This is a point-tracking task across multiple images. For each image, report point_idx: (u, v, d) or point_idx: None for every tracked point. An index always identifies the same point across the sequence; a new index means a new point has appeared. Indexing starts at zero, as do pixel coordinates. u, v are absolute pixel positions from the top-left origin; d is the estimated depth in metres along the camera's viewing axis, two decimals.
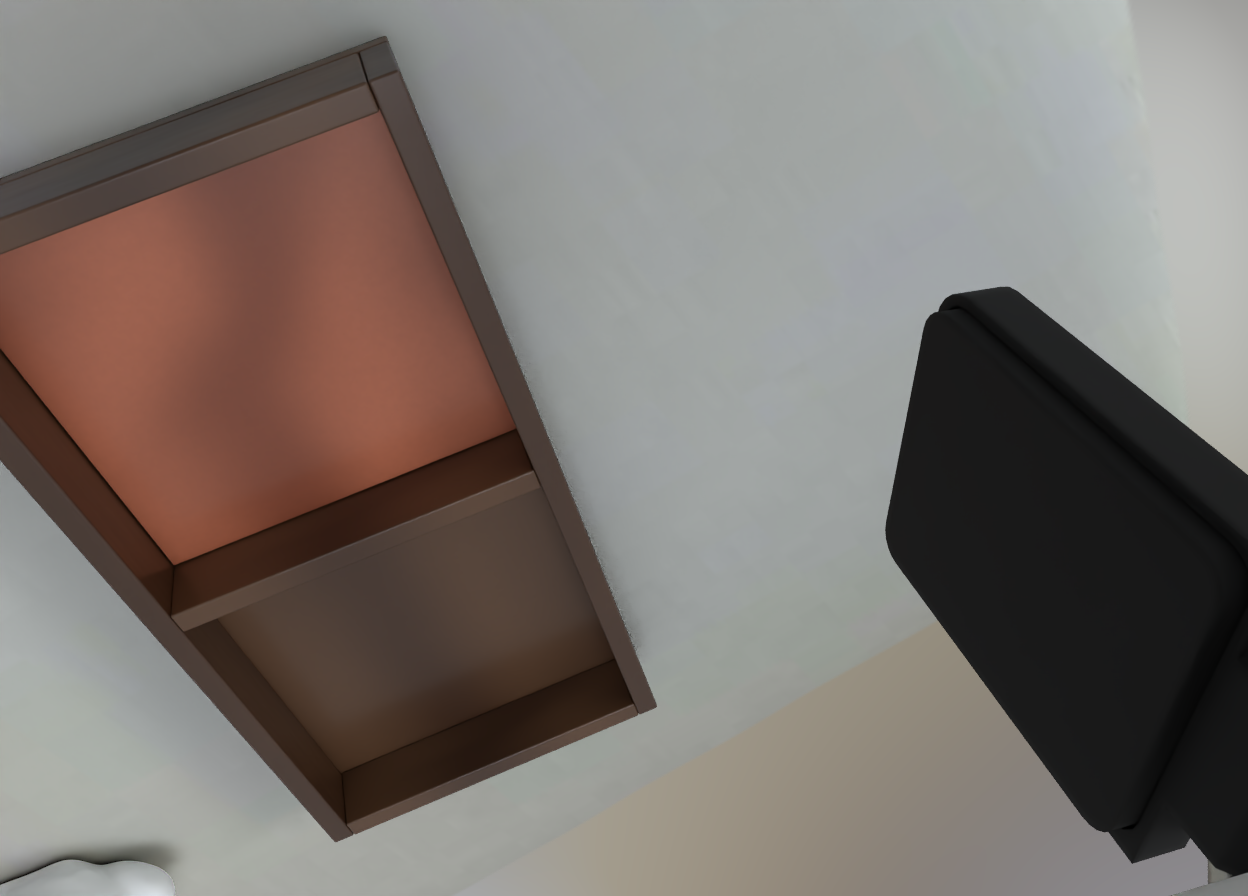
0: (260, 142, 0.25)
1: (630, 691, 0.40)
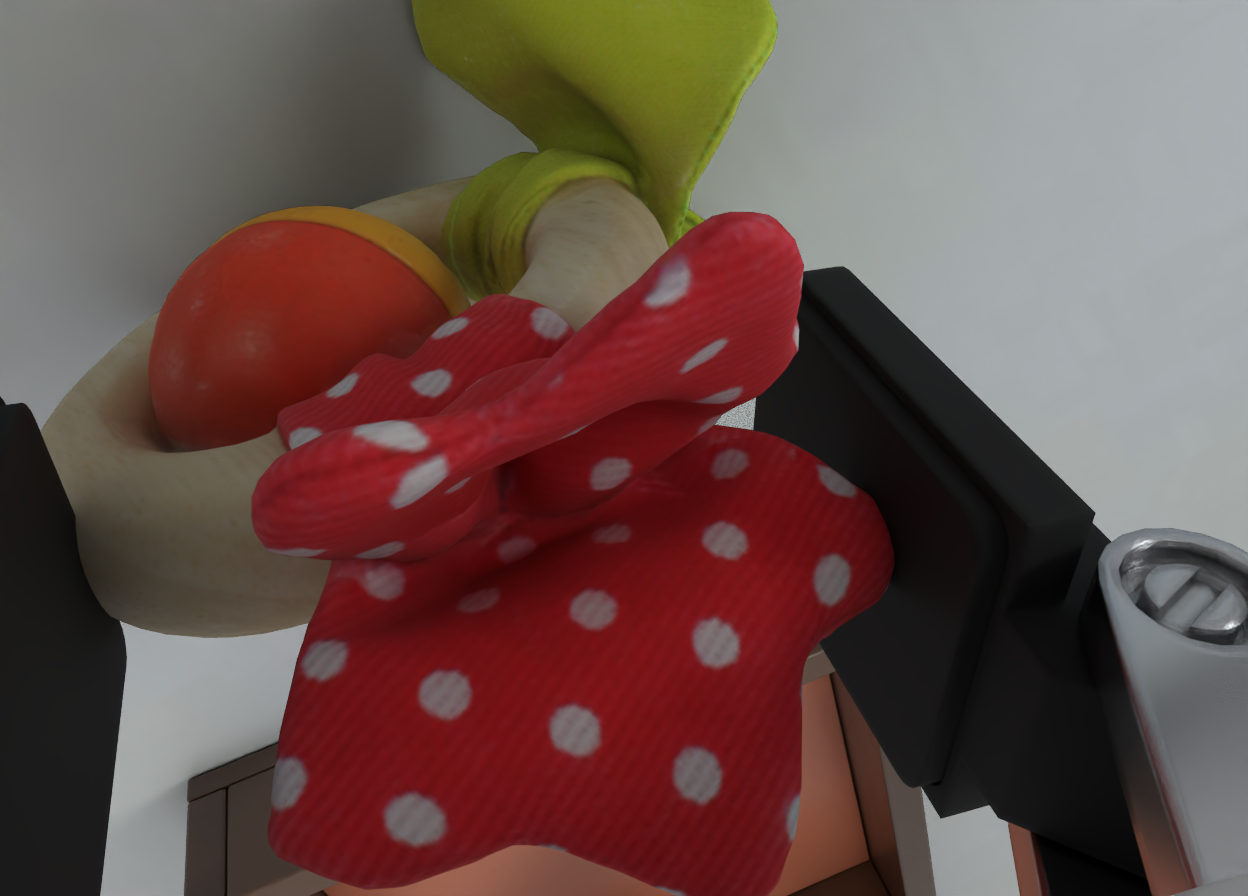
0: None
1: None
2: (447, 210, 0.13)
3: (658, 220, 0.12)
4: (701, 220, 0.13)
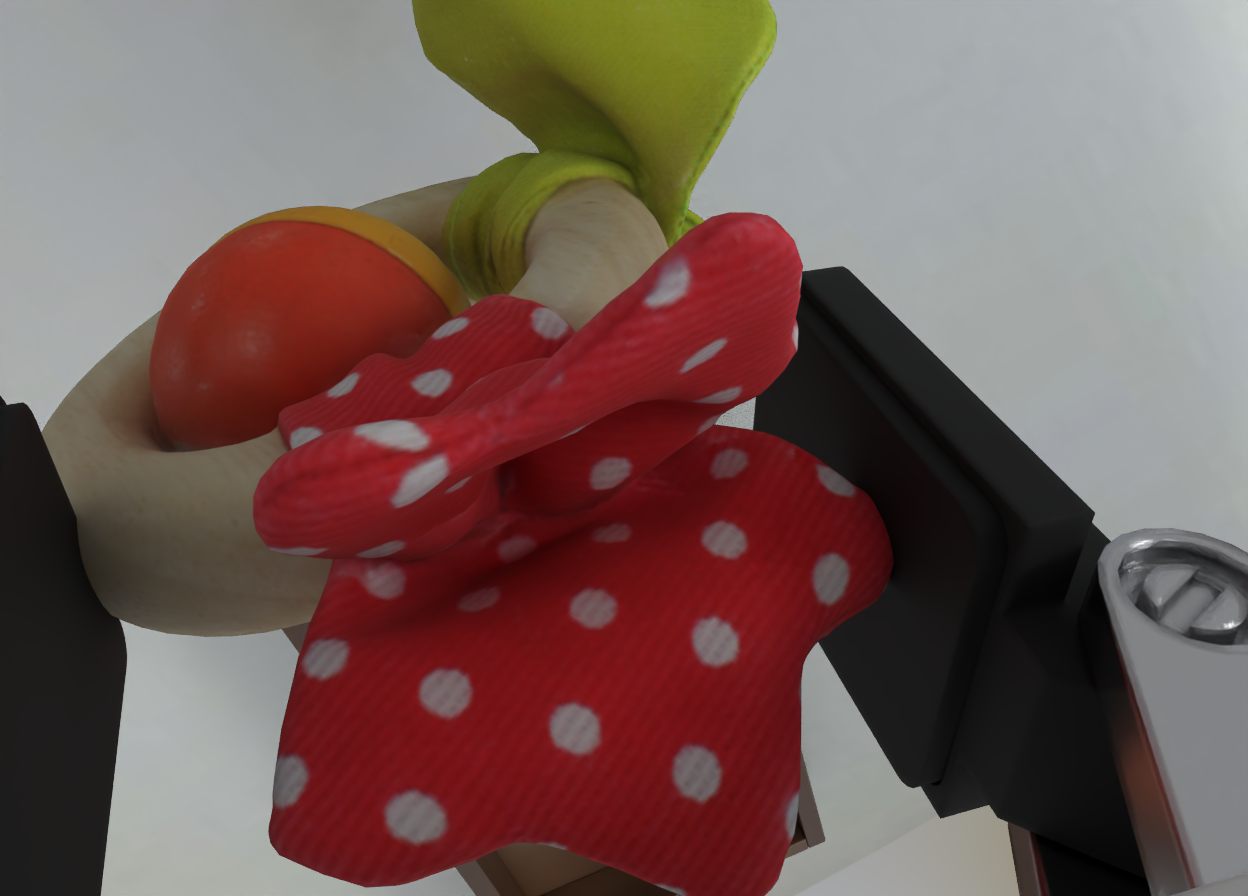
0: None
1: (804, 829, 0.43)
2: (447, 210, 0.13)
3: (658, 220, 0.12)
4: (701, 220, 0.13)
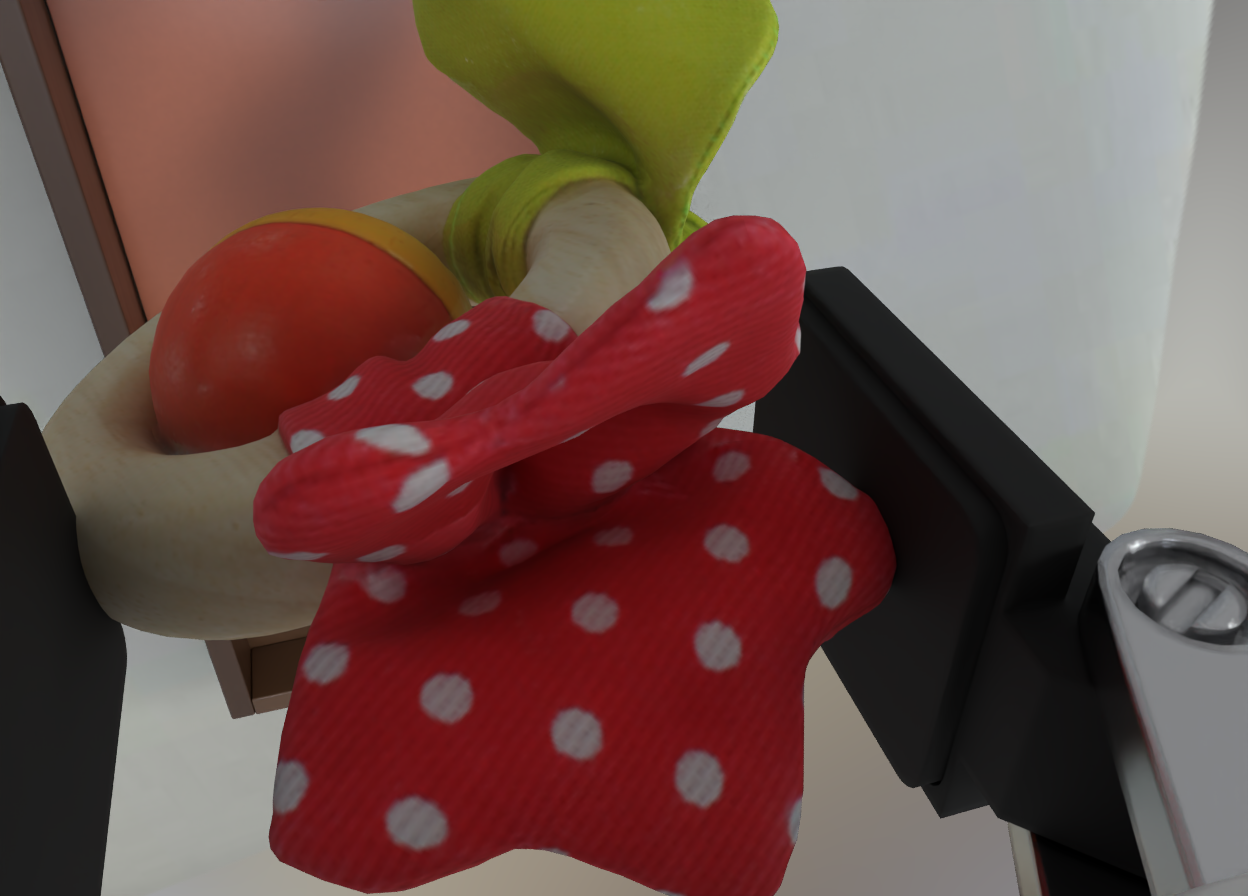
0: None
1: None
2: (448, 213, 0.13)
3: (659, 222, 0.12)
4: (702, 222, 0.13)
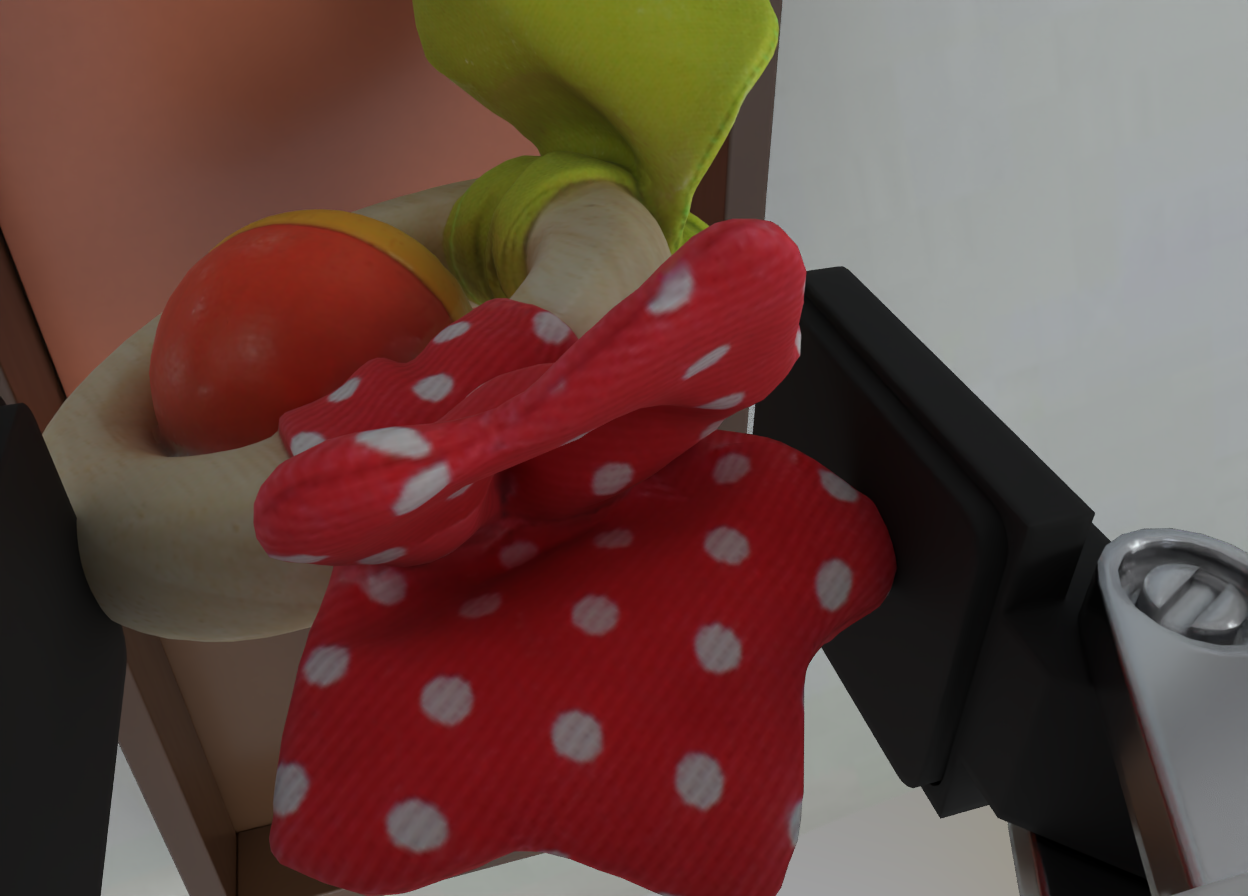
0: None
1: None
2: (448, 214, 0.13)
3: (659, 223, 0.12)
4: (702, 223, 0.13)
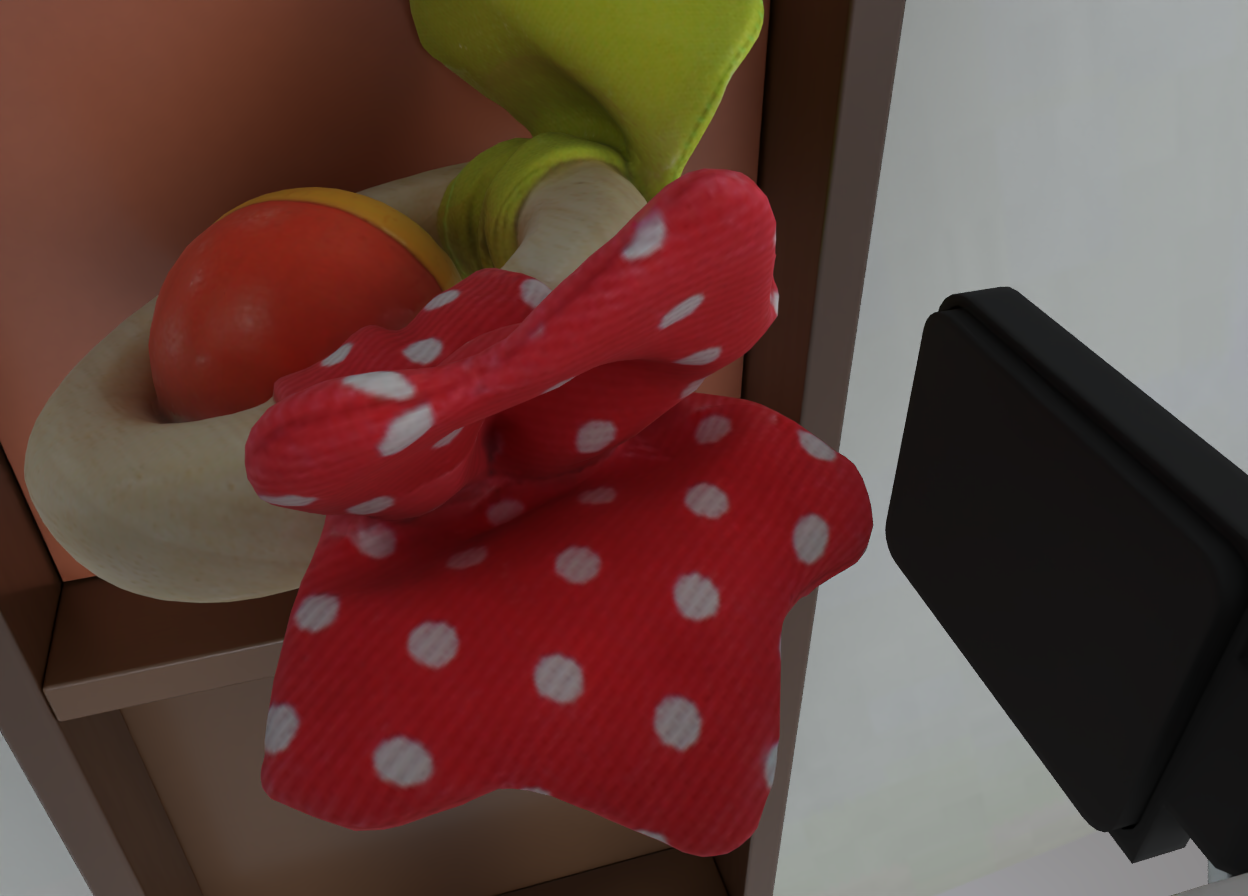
0: None
1: None
2: (442, 194, 0.13)
3: None
4: None
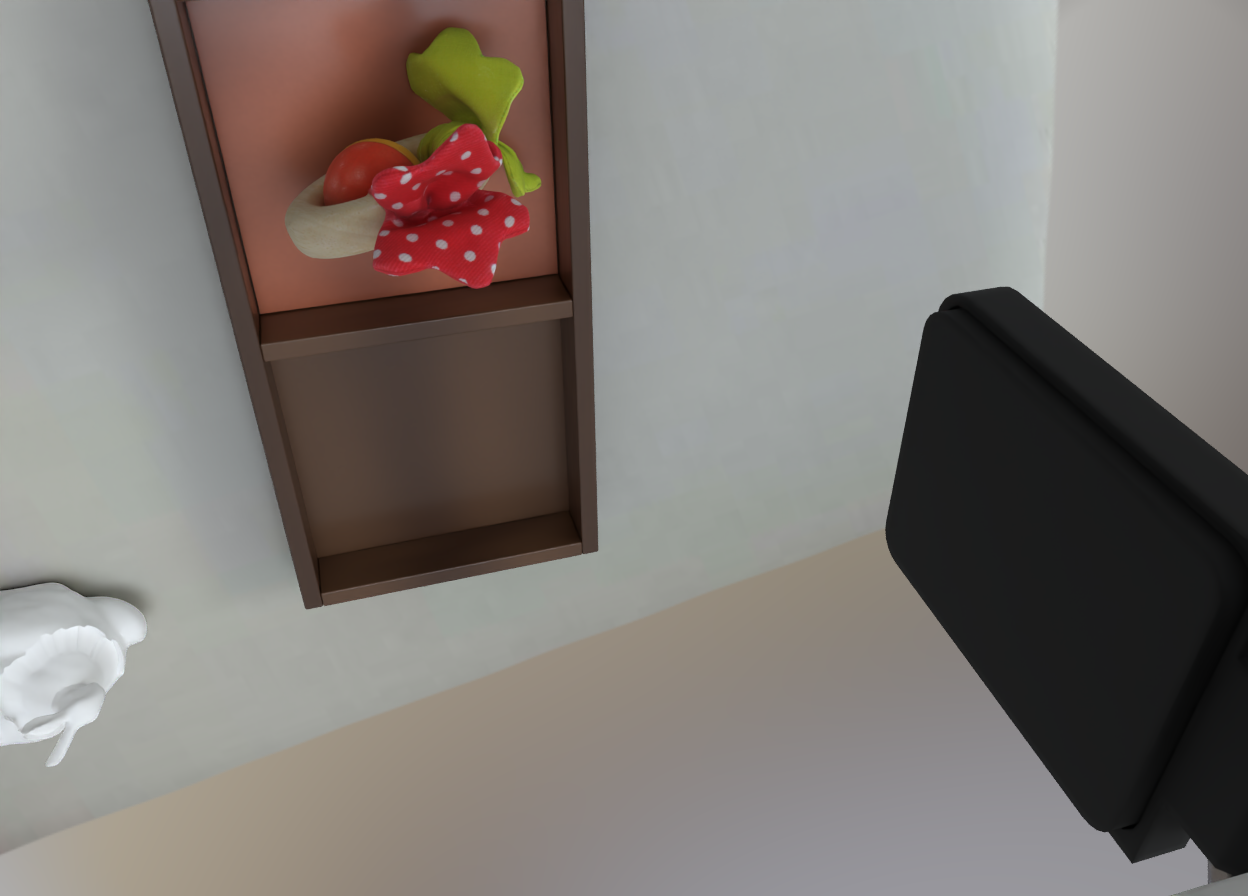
0: None
1: (582, 529, 0.49)
2: (419, 143, 0.36)
3: None
4: (507, 146, 0.36)
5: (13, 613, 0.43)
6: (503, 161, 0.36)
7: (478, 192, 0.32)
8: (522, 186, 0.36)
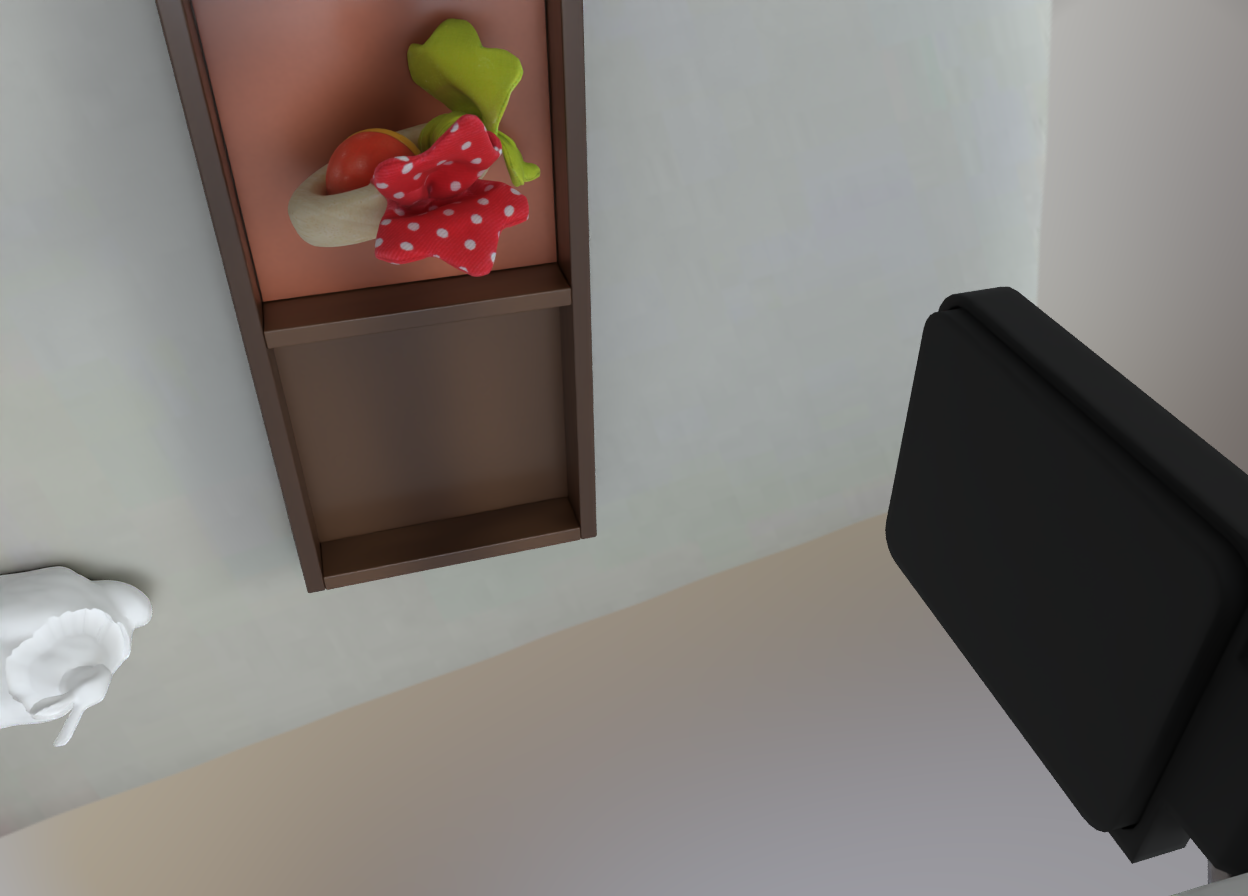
0: None
1: (581, 514, 0.49)
2: (419, 133, 0.37)
3: None
4: (506, 136, 0.37)
5: (20, 596, 0.44)
6: (503, 151, 0.36)
7: (478, 182, 0.33)
8: (521, 176, 0.36)
